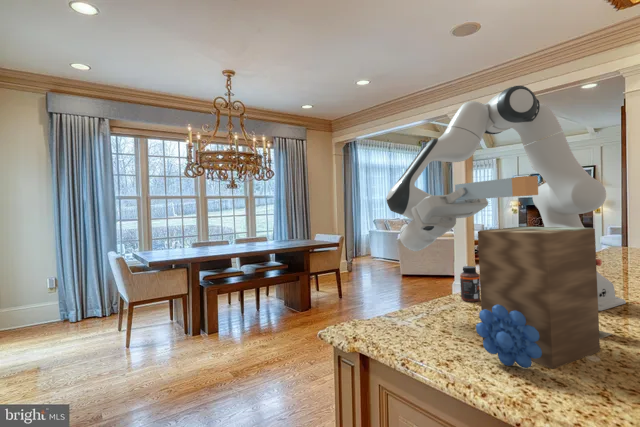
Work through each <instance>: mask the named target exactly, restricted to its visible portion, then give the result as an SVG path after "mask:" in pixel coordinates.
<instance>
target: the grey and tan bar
mask: <svg viewBox="0 0 640 427" xmlns="http://www.w3.org/2000/svg"><path fill="white" fill-rule="evenodd" d="M538 180H539V178H538V176H537V175H533V176H532V175H524V176H517V177H507V178H499V179H490V180H485V181H484V180H482V181H474V182H467V183H466V182H465V183H458V184H457V183H456V184H454V192H455V191H457V190H458V189H459V188H461V187H462V188H466V190H467V191H468V193H467V194H466V195H465V196H464V197H460V198H459V199H457V200H470V199H485V198H486V199H495V198H496V199H498V198H510V197H511V198H512V197H514V198H515V197H525V196H526V197H527V196H529V197H530V196H533V195H538V187H539V183H538V182H539V181H538Z"/></svg>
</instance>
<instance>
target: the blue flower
mask: <svg viewBox="0 0 640 427" xmlns="http://www.w3.org/2000/svg"><path fill="white" fill-rule="evenodd" d="M478 315H479V320H480V321H481V322H478V323H476V325H475V330H476V333H477V334H478V336H480V337H481V338H482V339H483V338H486V339H484V341H483V340H482V344H483V346H482V347H483V348H484V350H485V351H486V352H487V353H489V354H490V355H496V354H497V358H498V359H499V361H500V362H501V363H502V364H503V365H505V366H507V367H510V366H513V365H515V363H516V364H517V365H518V366H519V367H521V368H524V369H527V368H531V367H532V364H533V361H531V358H534V359H536V358H540V357H541V355H542V351H541V348H540V347H539V346H538V345H537V344H536V343H534V342H536V341H538V340H539V338H540V336H539V332H538V331H537V330H536V329H535V328H534V327H533V326H530V325H525V324H526V318H525V316H524V315H523V314H522V313H521V312H519V311H516V310H514V311H511V312H510V313H509V314H508V311H507V310H506V308H505V307H504V306H501V305H498V304H497V305H494V306H493V307H492V312H491V311H489V310H486V309H484V310H480V311H479V312H478ZM482 322H483V323H482ZM530 357H531V358H530Z"/></svg>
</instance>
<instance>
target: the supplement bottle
mask: <svg viewBox="0 0 640 427" xmlns="http://www.w3.org/2000/svg"><path fill="white" fill-rule="evenodd" d="M462 271H463V272H461V273H460V274H459V278H460V279H459V281H460V297H461V298H460V299H461V300H462V301H465V302H470V303H472V302H473V303H475V302H479V301H481V292H480V274H479V273H478V272H477V268H476V266H472V265H467V266H466V265H465V266H463V267H462Z"/></svg>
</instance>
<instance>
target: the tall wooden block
mask: <svg viewBox="0 0 640 427" xmlns="http://www.w3.org/2000/svg"><path fill="white" fill-rule="evenodd" d="M477 239H478V240H477V241H478V242H477V244H478V245H477V246H478V267H479V268H478V269H479V285H480V309H481V310H484V309H486V310H489V311H491V312H492V307H493V306H494V305H497V304H498V305H501V306H504V307H505V308H506V310H507V311H508V314H509V313H510V312H511V311H514V310H516V311H519V312H521V313H522V314H523V315H524V316H525V318H526V324H525V325H530V326H533V327H534V328H535V329H536V330H537V331H538V332H539V336H540V338H539V340H538V341H536V342H534V343H536V344H537V345H538V346H539V347H540V348H541V351H542V355H541V357H540V358H536V359H534V358H531V357H530V358H531V361H532V363H536V364H539V365H540V366H541V365H542V366H544V367H547V368H549V369H556V368H558V367H562V366H564V365H567V364H569V363H573V362H575V361H577V360H578V361H579V360H580V359H583V358H587V357H589V356H591V355H594V354H597V353H599V352H601V348H600V347H601V344H600V343H601V342H600V341H601V340H600V339H601V338H600V339H599V331H600V324H599V323H600V317H599V316H600V315H599V311H598V293H597V272H598V271H597V270H598V269H597V265H596V259H597V253H596V250H597V249H596V229H595V228H593V227H584V228H568V227H544V226H514V227H504V228H493V229H492V228H491V229H480V230H477ZM481 310H480V311H481ZM481 322H482V321H481ZM482 323H483V322H482ZM484 339H486V338H483V337H482V342H483V341H484Z"/></svg>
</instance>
